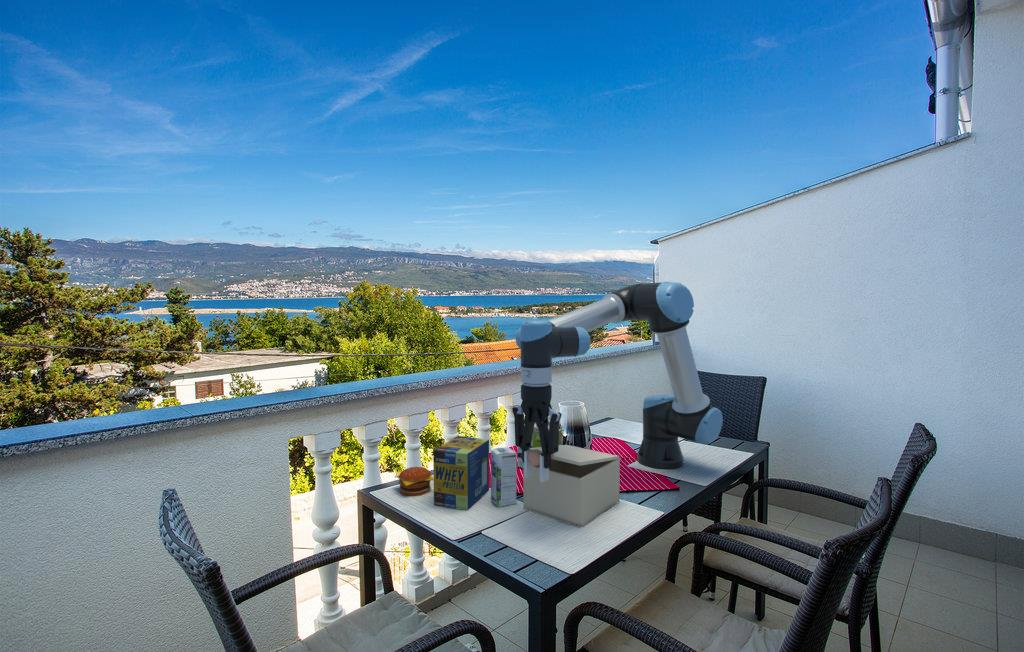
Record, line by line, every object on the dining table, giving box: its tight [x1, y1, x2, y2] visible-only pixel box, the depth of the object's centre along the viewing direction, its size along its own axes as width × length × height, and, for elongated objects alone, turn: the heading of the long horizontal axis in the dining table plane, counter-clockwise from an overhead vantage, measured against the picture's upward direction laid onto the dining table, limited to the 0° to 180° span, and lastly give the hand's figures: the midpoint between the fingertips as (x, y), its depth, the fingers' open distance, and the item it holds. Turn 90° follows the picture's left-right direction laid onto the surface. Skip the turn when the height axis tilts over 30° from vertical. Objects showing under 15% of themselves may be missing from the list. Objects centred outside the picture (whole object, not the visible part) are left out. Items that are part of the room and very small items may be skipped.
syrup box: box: [490, 446, 518, 508], centre depth 135 cm, size 6×6×14 cm
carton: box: [522, 458, 621, 528], centre depth 133 cm, size 20×18×12 cm
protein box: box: [432, 435, 490, 511], centre depth 139 cm, size 10×15×16 cm
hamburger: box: [395, 466, 434, 497], centre depth 145 cm, size 9×10×7 cm
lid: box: [528, 444, 620, 466], centre depth 129 cm, size 29×18×4 cm, turn 141°
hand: (536, 478), depth 120 cm, fingers closed on lid, 4 cm apart
